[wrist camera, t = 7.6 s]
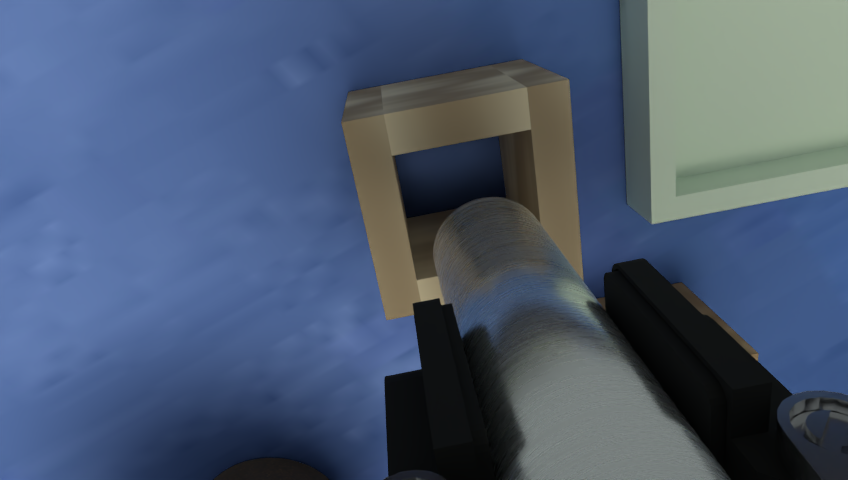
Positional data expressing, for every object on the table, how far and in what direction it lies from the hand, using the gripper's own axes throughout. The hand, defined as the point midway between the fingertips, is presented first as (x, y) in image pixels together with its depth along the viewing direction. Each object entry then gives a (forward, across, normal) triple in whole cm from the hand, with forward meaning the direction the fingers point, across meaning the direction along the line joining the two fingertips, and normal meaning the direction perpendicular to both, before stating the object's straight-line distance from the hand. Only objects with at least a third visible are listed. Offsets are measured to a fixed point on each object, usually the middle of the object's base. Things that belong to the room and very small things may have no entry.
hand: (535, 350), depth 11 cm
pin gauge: (+5, 0, 0) cm, 5 cm away
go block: (+14, 0, 0) cm, 14 cm away
